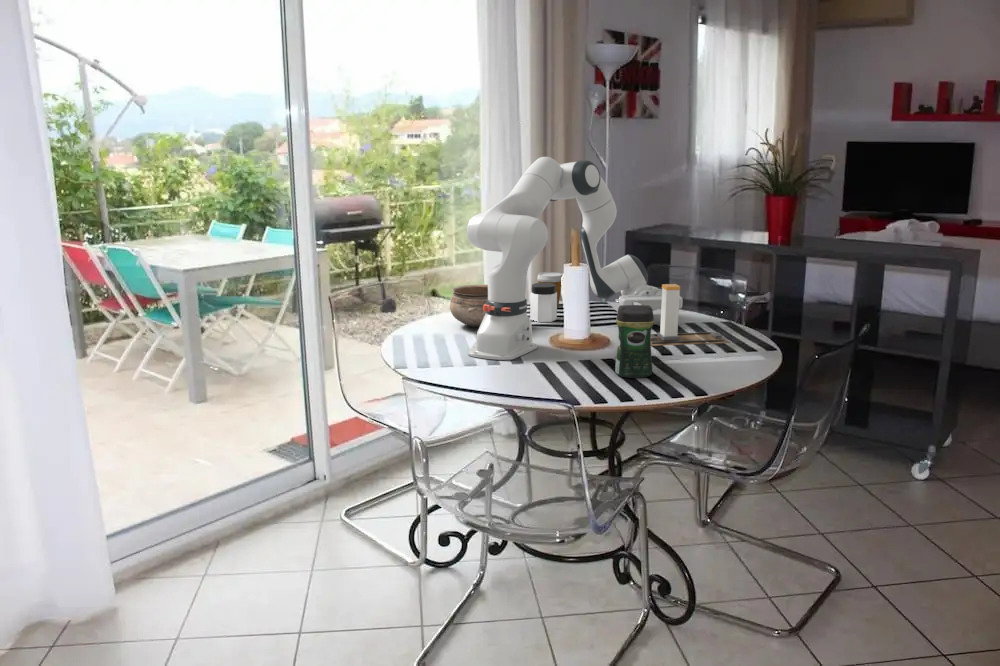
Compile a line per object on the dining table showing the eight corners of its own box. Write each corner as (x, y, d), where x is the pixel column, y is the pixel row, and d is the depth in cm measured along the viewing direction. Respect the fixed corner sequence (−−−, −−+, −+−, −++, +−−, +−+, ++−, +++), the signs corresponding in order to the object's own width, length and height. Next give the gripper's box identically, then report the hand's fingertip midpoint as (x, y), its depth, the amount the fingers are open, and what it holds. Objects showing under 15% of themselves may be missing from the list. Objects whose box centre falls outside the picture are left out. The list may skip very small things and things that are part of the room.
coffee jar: (649, 370, 215) (652, 302, 211) (653, 379, 208) (657, 308, 203) (613, 369, 216) (615, 302, 211) (616, 378, 208) (618, 308, 203)
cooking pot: (505, 336, 250) (505, 297, 247) (445, 335, 252) (444, 297, 249) (509, 317, 275) (509, 282, 272) (454, 317, 276) (454, 282, 273)
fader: (663, 340, 239) (666, 287, 235) (657, 335, 244) (659, 283, 240) (679, 340, 239) (682, 287, 235) (673, 335, 245) (675, 283, 241)
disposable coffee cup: (550, 302, 298) (550, 271, 295) (568, 307, 291) (569, 274, 288) (531, 306, 292) (531, 273, 289) (549, 310, 285) (549, 277, 282)
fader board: (645, 349, 235) (646, 342, 234) (633, 338, 247) (633, 331, 247) (730, 346, 238) (731, 339, 237) (714, 335, 250) (714, 328, 250)
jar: (537, 315, 278) (538, 281, 275) (559, 318, 274) (560, 283, 271) (526, 321, 270) (526, 286, 267) (548, 323, 266) (549, 288, 263)
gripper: (613, 289, 262) (625, 298, 249) (674, 288, 265) (689, 296, 251) (613, 308, 264) (624, 318, 250) (673, 307, 266) (687, 316, 253)
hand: (657, 307), depth 251 cm, fingers open, 8 cm apart
